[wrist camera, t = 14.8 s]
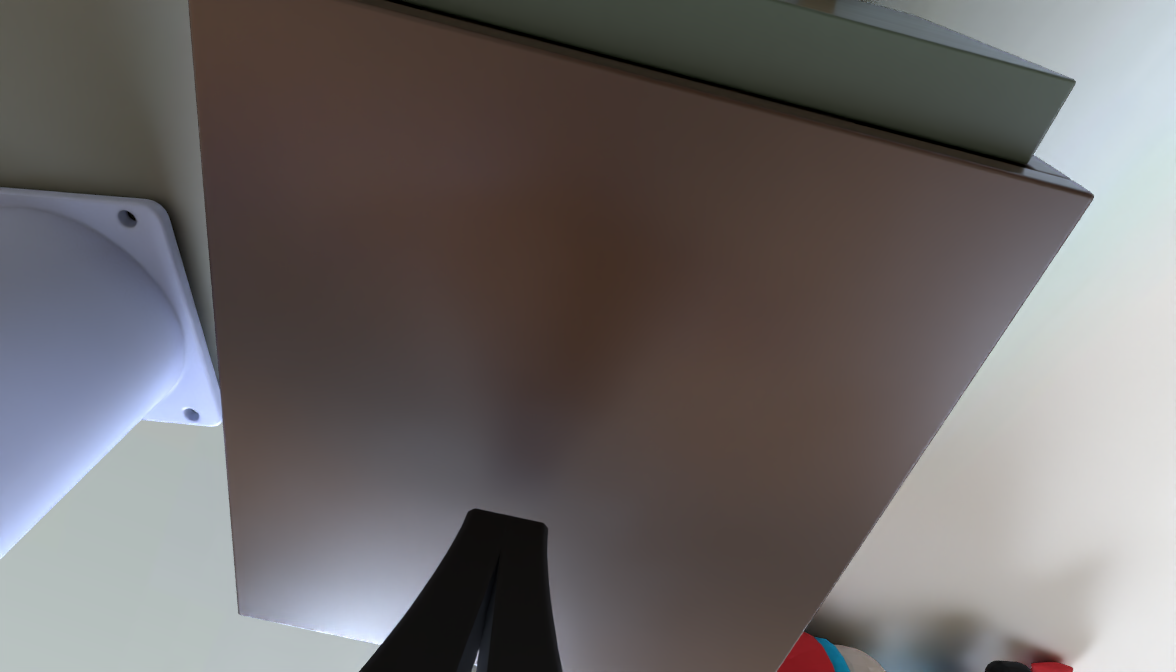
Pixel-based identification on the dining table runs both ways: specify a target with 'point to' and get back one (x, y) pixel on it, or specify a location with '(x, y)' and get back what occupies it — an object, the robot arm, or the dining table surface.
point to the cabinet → (577, 324)
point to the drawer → (808, 61)
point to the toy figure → (873, 660)
